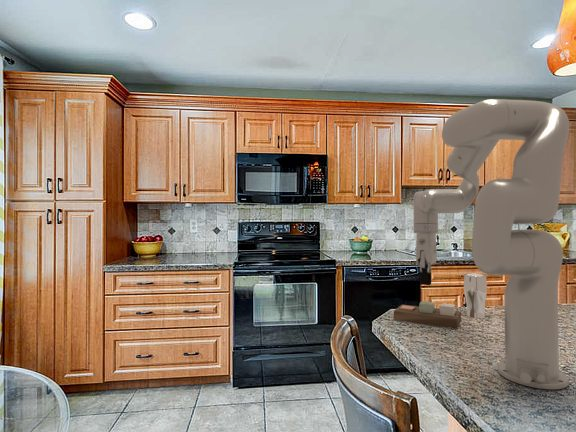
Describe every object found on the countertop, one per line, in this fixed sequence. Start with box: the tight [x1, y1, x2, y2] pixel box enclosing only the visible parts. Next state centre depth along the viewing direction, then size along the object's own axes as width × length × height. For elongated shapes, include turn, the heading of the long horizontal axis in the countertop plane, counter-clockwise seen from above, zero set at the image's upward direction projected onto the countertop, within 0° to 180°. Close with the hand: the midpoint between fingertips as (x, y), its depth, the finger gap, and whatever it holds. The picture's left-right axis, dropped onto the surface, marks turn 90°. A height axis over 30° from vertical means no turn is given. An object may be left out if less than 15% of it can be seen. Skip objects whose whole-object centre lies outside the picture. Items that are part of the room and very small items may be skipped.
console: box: [393, 304, 462, 330], centre depth 116 cm, size 10×19×4 cm, turn 58°
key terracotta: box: [400, 304, 415, 311], centre depth 119 cm, size 4×4×3 cm
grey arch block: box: [463, 272, 488, 319], centre depth 121 cm, size 7×7×15 cm
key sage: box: [418, 300, 436, 314], centre depth 116 cm, size 4×4×3 cm
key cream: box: [439, 302, 456, 316], centre depth 113 cm, size 4×4×3 cm
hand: (425, 284), depth 117 cm, fingers closed
